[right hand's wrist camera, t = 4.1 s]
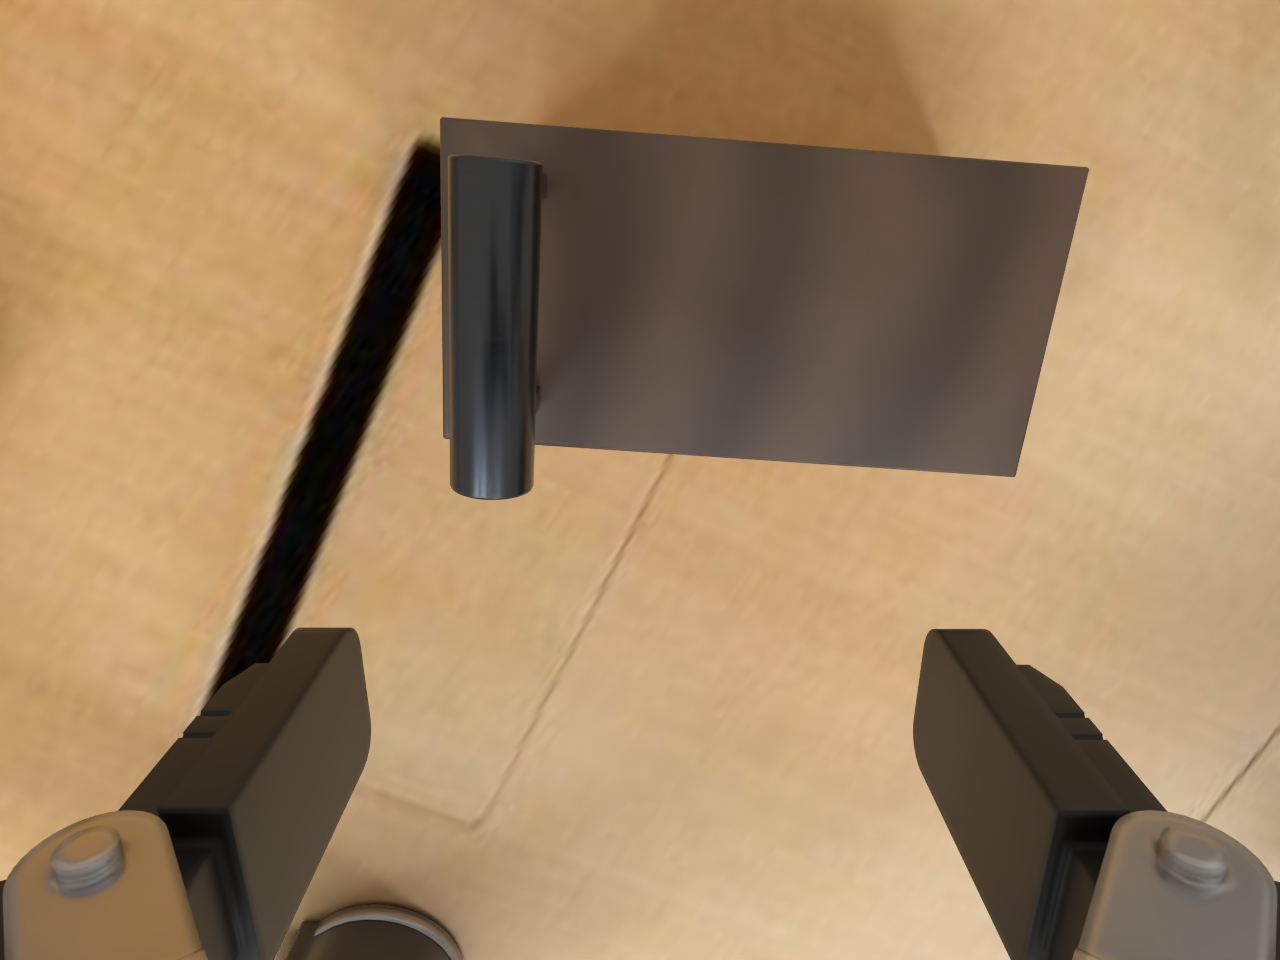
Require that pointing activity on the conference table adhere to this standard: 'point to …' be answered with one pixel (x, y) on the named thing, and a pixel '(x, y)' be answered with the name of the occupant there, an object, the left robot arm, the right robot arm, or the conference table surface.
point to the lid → (740, 300)
